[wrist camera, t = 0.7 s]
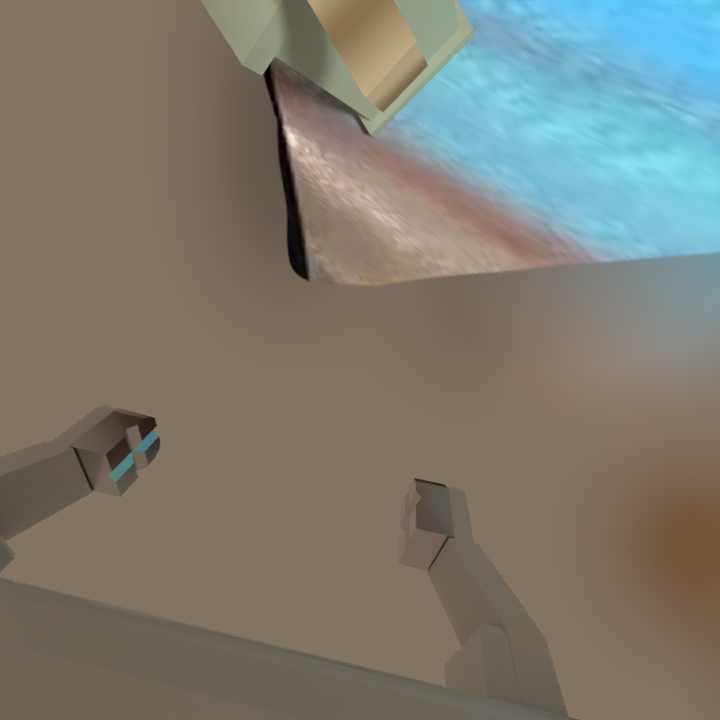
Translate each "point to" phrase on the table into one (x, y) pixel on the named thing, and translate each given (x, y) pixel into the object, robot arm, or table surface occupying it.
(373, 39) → the tan block
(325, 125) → the table surface
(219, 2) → the pedestal stand
